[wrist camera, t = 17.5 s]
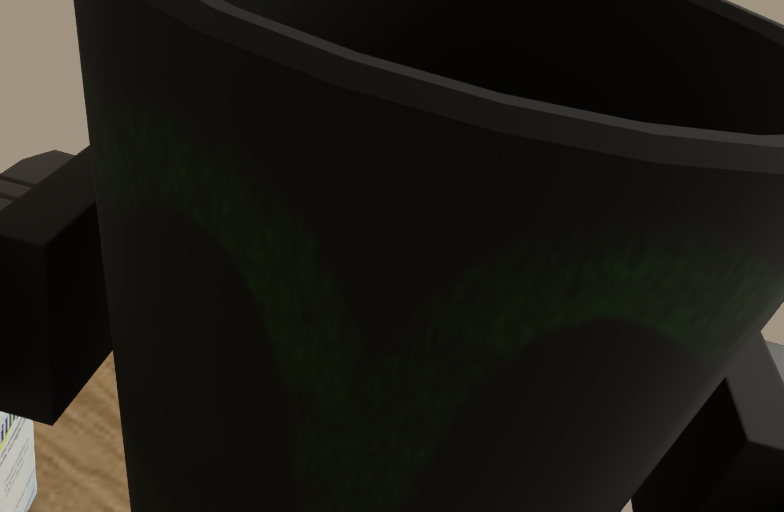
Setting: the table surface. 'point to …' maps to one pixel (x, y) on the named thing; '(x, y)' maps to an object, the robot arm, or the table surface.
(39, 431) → the table surface
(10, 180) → the robot arm
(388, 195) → the cup
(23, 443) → the box
